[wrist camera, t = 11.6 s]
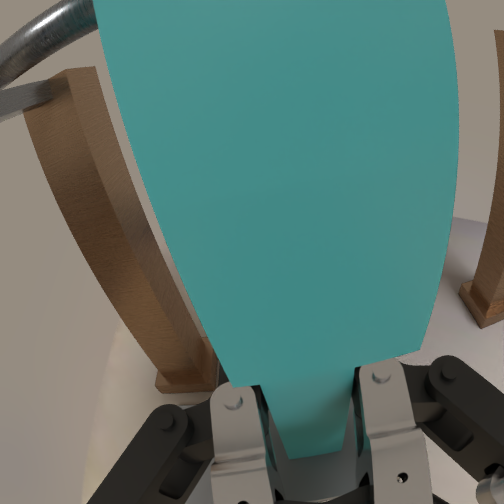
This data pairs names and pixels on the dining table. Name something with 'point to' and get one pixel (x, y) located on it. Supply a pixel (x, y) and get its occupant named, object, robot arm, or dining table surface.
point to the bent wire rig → (129, 207)
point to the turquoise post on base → (296, 191)
